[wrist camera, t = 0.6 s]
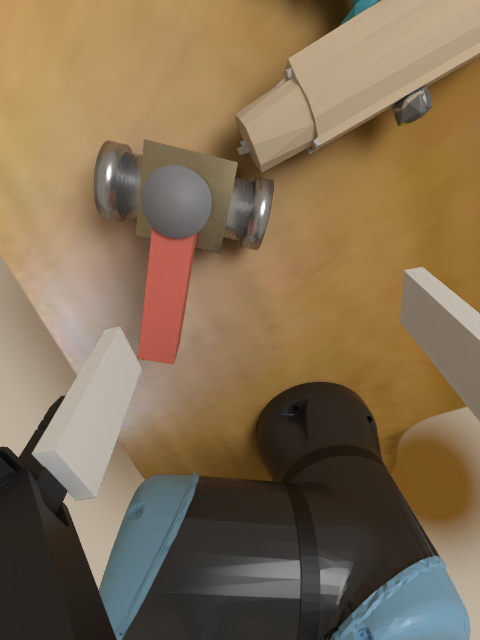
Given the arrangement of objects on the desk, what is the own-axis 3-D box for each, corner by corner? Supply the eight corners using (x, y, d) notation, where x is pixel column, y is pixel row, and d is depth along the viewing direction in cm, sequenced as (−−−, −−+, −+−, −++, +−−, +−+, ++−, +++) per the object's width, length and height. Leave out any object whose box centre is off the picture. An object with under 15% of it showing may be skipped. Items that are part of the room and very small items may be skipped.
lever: (157, 161, 23) (144, 157, 19) (217, 176, 24) (216, 174, 20) (138, 336, 28) (126, 359, 24) (188, 345, 29) (183, 368, 25)
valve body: (268, 174, 30) (280, 171, 24) (251, 248, 33) (258, 262, 26) (123, 139, 28) (94, 126, 22) (117, 220, 31) (90, 228, 25)
